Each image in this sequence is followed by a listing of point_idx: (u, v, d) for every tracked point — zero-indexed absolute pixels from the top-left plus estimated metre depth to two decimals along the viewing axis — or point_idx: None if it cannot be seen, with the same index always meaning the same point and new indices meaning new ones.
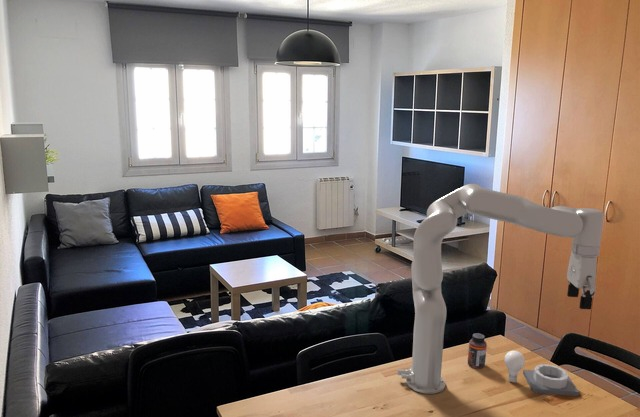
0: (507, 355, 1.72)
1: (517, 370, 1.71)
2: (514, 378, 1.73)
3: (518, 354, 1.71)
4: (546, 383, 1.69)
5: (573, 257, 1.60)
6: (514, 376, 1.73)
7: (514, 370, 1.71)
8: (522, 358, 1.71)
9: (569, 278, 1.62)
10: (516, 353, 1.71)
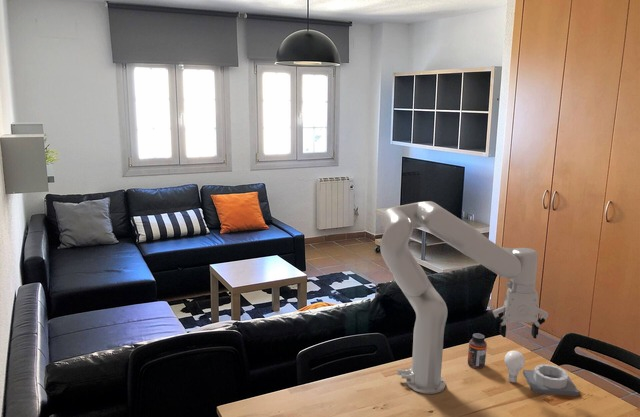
0: (507, 355, 1.72)
1: (517, 370, 1.71)
2: (514, 378, 1.73)
3: (518, 354, 1.71)
4: (546, 383, 1.69)
5: (520, 298, 1.65)
6: (514, 376, 1.73)
7: (514, 370, 1.71)
8: (522, 358, 1.71)
9: (516, 319, 1.67)
10: (516, 353, 1.71)
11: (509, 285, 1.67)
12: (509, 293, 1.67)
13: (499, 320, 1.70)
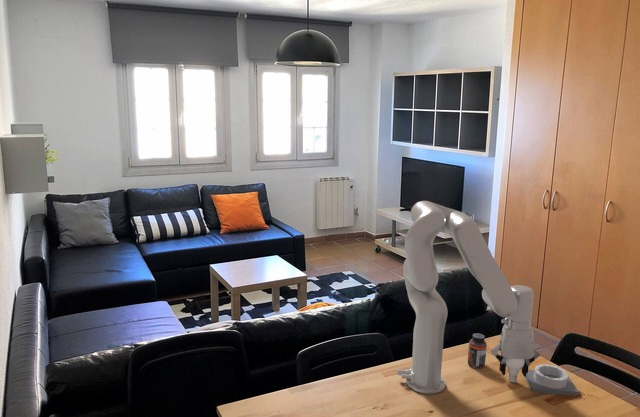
0: None
1: (517, 370, 1.71)
2: (514, 378, 1.73)
3: None
4: (546, 383, 1.69)
5: (516, 335, 1.68)
6: (514, 376, 1.73)
7: (514, 370, 1.71)
8: None
9: (511, 355, 1.70)
10: None
11: (505, 322, 1.70)
12: (505, 330, 1.69)
13: (499, 358, 1.72)
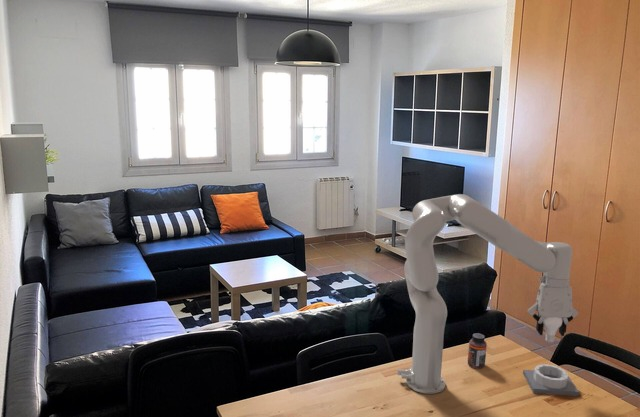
0: None
1: (555, 329, 1.67)
2: (552, 338, 1.69)
3: None
4: (546, 383, 1.69)
5: (554, 293, 1.64)
6: (552, 336, 1.68)
7: (552, 329, 1.67)
8: None
9: (549, 314, 1.65)
10: None
11: (543, 280, 1.65)
12: (543, 288, 1.65)
13: (536, 318, 1.68)
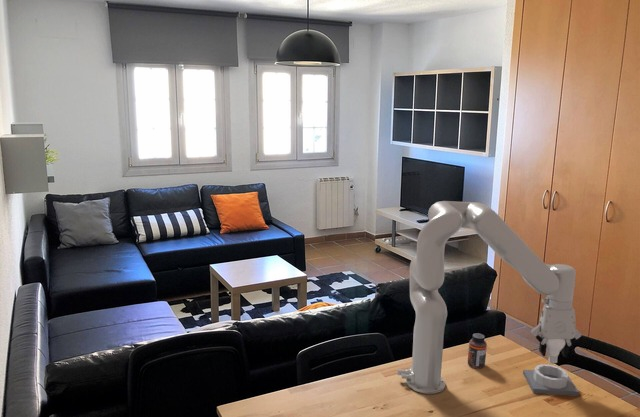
0: None
1: (558, 350, 1.68)
2: (554, 359, 1.70)
3: None
4: (546, 383, 1.69)
5: (557, 315, 1.65)
6: (555, 357, 1.70)
7: (555, 351, 1.68)
8: None
9: (552, 335, 1.67)
10: None
11: (546, 301, 1.67)
12: (546, 309, 1.66)
13: (539, 339, 1.70)
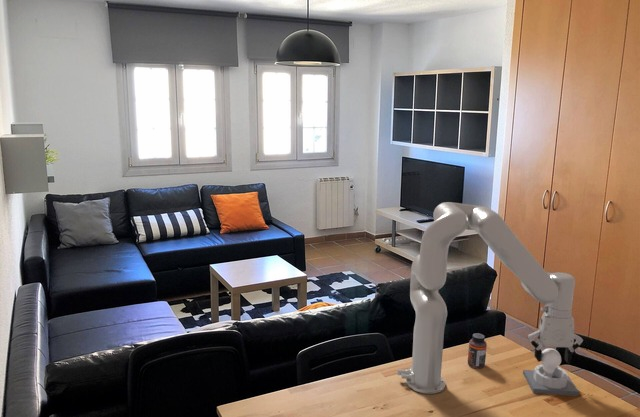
0: (544, 352, 1.71)
1: (553, 368, 1.70)
2: (549, 376, 1.71)
3: (555, 352, 1.70)
4: (546, 383, 1.69)
5: (556, 323, 1.66)
6: (549, 374, 1.71)
7: (550, 368, 1.70)
8: (559, 356, 1.69)
9: (551, 343, 1.67)
10: (553, 351, 1.70)
11: (545, 309, 1.67)
12: (545, 317, 1.67)
13: (534, 344, 1.70)
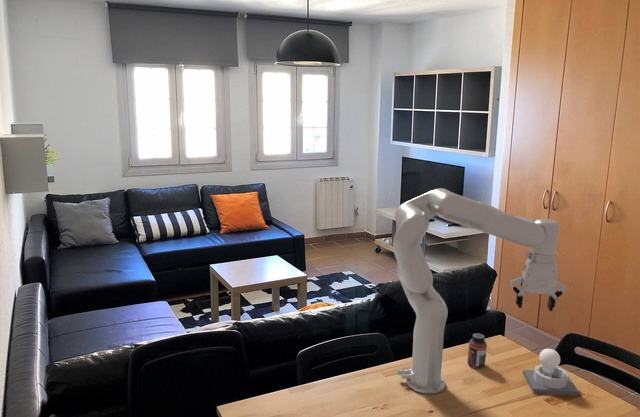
0: (542, 353, 1.71)
1: (552, 368, 1.70)
2: (549, 376, 1.71)
3: (554, 352, 1.69)
4: (546, 383, 1.69)
5: (539, 269, 1.65)
6: (549, 374, 1.71)
7: (549, 368, 1.70)
8: (558, 356, 1.69)
9: (533, 290, 1.66)
10: (552, 351, 1.70)
11: (529, 255, 1.66)
12: (528, 263, 1.66)
13: (516, 290, 1.69)
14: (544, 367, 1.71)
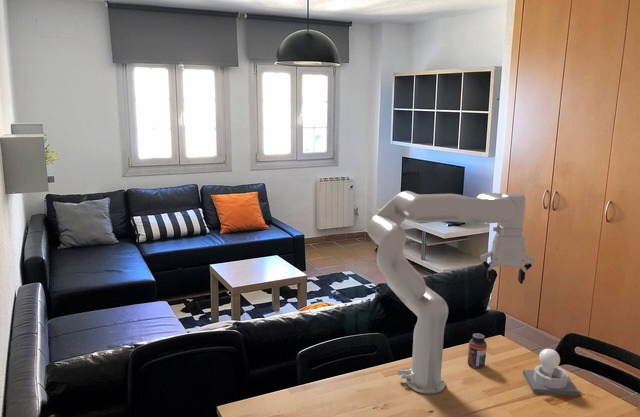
0: (542, 353, 1.71)
1: (552, 368, 1.70)
2: (549, 376, 1.71)
3: (553, 352, 1.69)
4: (546, 383, 1.69)
5: (507, 242, 1.67)
6: (549, 374, 1.71)
7: (549, 368, 1.70)
8: (557, 356, 1.69)
9: (503, 263, 1.69)
10: (551, 351, 1.70)
11: (497, 229, 1.69)
12: (497, 237, 1.68)
13: (486, 265, 1.71)
14: (544, 367, 1.71)
